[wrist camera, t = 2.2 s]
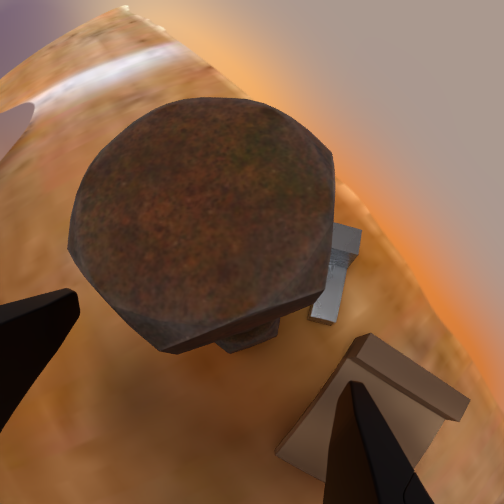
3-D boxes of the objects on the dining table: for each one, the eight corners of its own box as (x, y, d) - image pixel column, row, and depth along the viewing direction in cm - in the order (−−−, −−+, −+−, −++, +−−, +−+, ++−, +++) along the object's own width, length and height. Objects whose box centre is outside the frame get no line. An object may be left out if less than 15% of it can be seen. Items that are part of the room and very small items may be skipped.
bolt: (270, 268, 20) (282, 72, 6) (299, 337, 19) (404, 250, 5) (189, 298, 20) (56, 151, 6) (214, 369, 18) (76, 372, 4)
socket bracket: (330, 325, 19) (346, 315, 15) (169, 280, 20) (149, 260, 17) (345, 254, 20) (361, 230, 17) (194, 216, 22) (182, 186, 18)
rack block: (377, 502, 14) (392, 518, 11) (274, 450, 16) (276, 464, 13) (447, 398, 16) (470, 399, 13) (355, 338, 18) (370, 332, 16)
